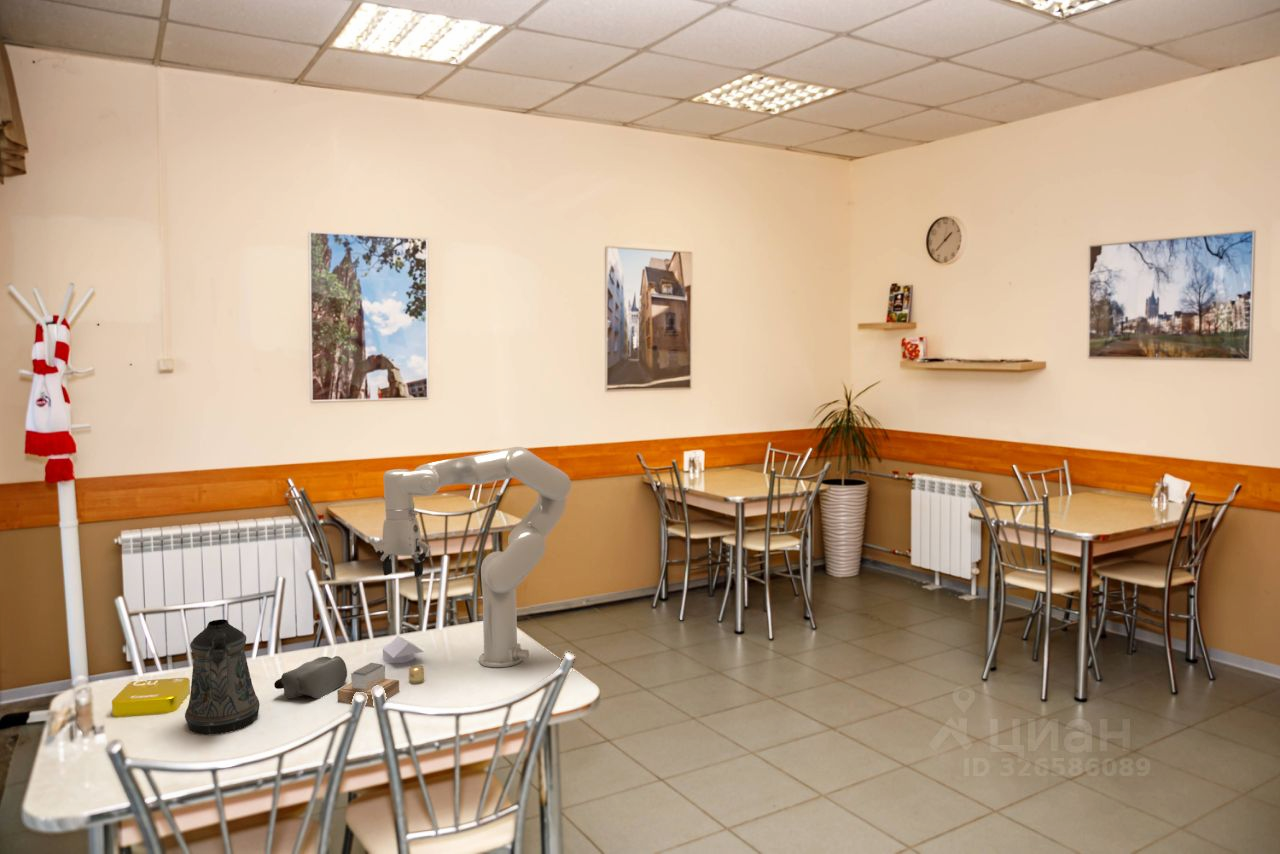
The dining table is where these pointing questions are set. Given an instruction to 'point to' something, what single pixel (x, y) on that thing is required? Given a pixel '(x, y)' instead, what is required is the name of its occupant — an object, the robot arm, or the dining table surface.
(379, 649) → the dining table surface
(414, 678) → the bushing
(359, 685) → the block
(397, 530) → the robot arm
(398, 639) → the wedge on round base
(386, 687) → the stand
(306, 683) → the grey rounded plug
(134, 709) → the element tile
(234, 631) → the ornate dark jug
